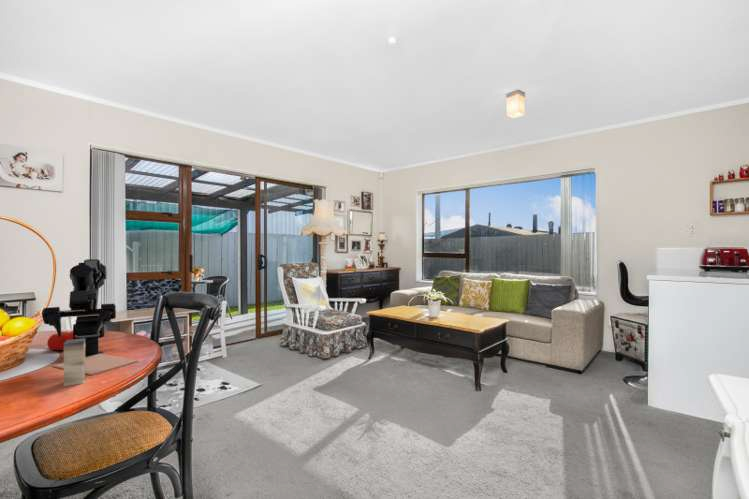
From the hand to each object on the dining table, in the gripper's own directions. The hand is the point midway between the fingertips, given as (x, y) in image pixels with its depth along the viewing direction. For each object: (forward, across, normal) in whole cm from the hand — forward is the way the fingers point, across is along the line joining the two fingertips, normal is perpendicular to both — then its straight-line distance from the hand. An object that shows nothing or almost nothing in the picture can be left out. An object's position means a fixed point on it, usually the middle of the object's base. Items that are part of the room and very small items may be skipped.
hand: (78, 335), depth 115 cm
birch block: (+14, 0, +4) cm, 15 cm away
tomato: (-19, -8, +37) cm, 43 cm away
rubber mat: (+2, +4, +16) cm, 17 cm away
